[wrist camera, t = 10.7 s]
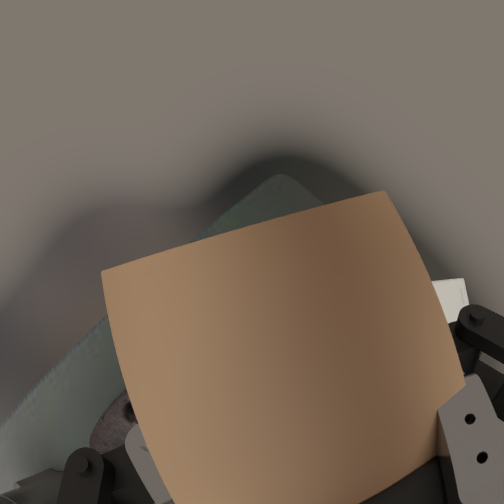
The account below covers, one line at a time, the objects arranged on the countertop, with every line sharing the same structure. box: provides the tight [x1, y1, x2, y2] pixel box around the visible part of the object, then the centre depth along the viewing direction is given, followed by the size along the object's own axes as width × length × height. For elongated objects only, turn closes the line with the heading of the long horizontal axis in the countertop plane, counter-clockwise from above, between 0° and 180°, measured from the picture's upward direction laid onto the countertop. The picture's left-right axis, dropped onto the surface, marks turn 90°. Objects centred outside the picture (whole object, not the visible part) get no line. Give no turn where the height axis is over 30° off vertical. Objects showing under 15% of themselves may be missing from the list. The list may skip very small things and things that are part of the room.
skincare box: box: [431, 278, 469, 323], centre depth 26 cm, size 8×7×16 cm
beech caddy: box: [101, 190, 466, 504], centre depth 8 cm, size 6×6×10 cm
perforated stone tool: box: [90, 389, 137, 453], centre depth 25 cm, size 15×5×7 cm, turn 135°
